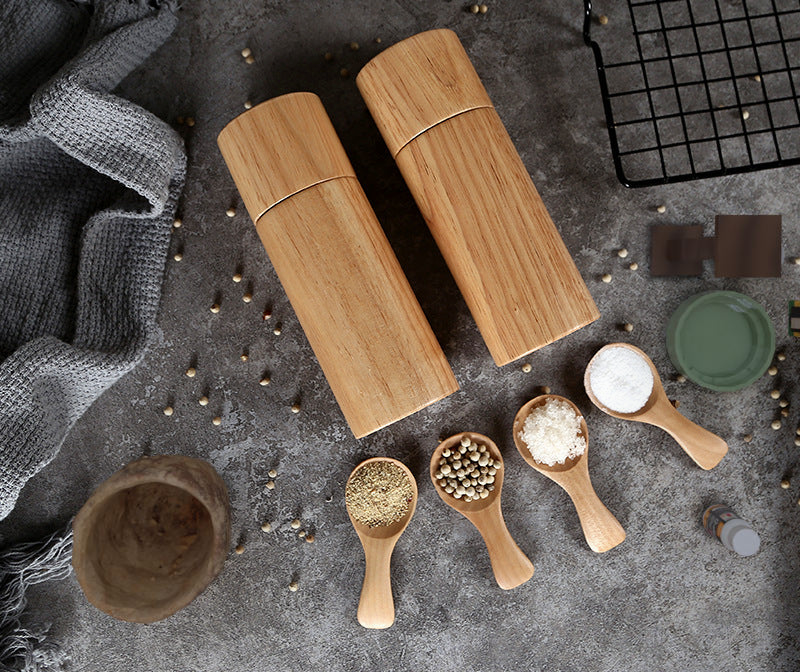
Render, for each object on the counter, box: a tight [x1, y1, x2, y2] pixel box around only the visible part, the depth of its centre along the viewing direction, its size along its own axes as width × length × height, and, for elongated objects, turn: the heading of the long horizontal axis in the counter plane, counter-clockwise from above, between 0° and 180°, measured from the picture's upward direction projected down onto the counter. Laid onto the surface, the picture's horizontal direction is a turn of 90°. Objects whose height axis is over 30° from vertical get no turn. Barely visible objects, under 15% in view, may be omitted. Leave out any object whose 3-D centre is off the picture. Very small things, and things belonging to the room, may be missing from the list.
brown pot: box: [71, 453, 232, 625], centre depth 104 cm, size 22×22×25 cm
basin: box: [665, 289, 776, 392], centre depth 114 cm, size 18×18×4 cm
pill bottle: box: [702, 503, 761, 557], centre depth 112 cm, size 6×6×10 cm
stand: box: [649, 214, 783, 279], centre depth 104 cm, size 9×9×25 cm
